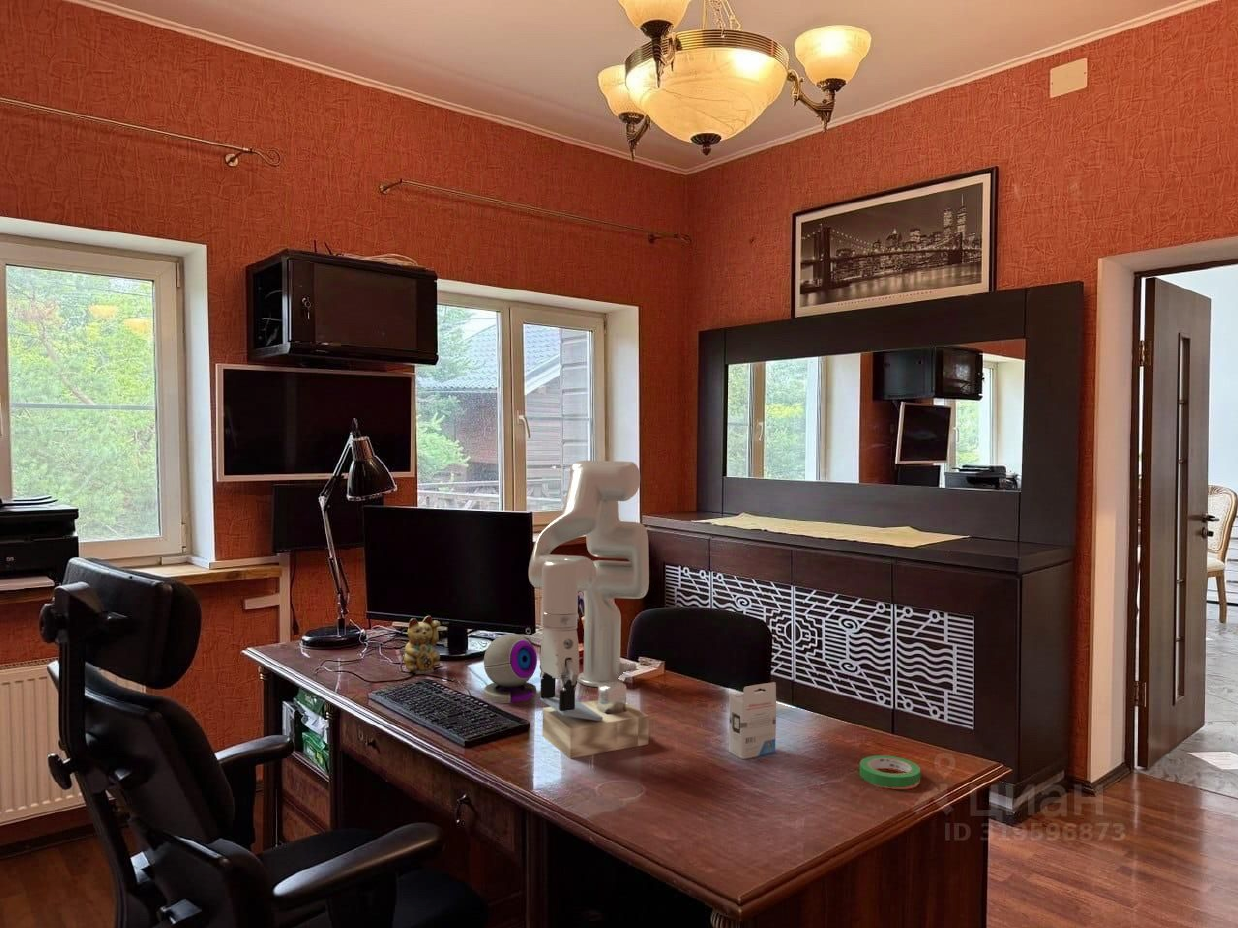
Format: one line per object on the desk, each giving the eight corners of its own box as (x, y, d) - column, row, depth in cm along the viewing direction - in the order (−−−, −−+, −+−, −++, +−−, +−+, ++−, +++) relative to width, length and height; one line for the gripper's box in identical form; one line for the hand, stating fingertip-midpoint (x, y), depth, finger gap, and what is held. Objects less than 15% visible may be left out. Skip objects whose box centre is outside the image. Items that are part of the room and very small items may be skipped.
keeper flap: (576, 704, 185) (577, 700, 185) (601, 721, 174) (602, 717, 174) (539, 698, 181) (540, 694, 181) (563, 715, 170) (564, 711, 170)
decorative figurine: (410, 676, 224) (411, 620, 224) (397, 669, 230) (397, 614, 230) (444, 671, 230) (444, 615, 230) (430, 664, 237) (430, 610, 236)
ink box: (761, 745, 179) (763, 675, 179) (776, 753, 175) (777, 681, 174) (727, 751, 175) (729, 680, 175) (741, 759, 171) (743, 686, 170)
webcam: (509, 706, 202) (510, 643, 201) (472, 695, 209) (472, 634, 209) (546, 693, 212) (547, 633, 211) (509, 683, 220) (510, 626, 219)
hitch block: (616, 723, 191) (617, 697, 191) (648, 744, 178) (648, 715, 178) (542, 735, 182) (542, 707, 182) (570, 758, 170) (570, 728, 170)
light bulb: (617, 728, 186) (617, 680, 186) (630, 736, 181) (631, 687, 181) (592, 732, 184) (593, 683, 183) (605, 741, 178) (606, 691, 178)
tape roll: (849, 779, 163) (849, 765, 163) (875, 763, 171) (875, 750, 171) (904, 796, 155) (905, 782, 155) (929, 779, 164) (930, 765, 163)
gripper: (594, 626, 169) (591, 712, 169) (558, 612, 185) (557, 691, 185) (559, 629, 166) (557, 717, 166) (526, 614, 181) (524, 694, 181)
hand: (557, 703), depth 175 cm, fingers open, 9 cm apart
